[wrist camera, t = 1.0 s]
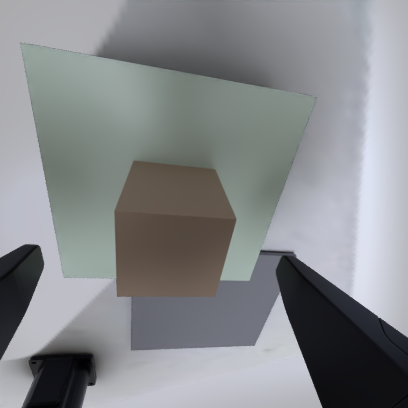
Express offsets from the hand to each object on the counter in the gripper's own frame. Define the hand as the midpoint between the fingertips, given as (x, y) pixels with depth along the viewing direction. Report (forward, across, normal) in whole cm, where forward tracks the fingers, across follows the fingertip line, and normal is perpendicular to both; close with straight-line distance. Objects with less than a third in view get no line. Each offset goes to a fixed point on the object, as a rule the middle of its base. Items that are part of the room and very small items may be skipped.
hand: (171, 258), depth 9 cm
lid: (+5, 0, 0) cm, 5 cm away
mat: (+9, -5, +15) cm, 18 cm away
